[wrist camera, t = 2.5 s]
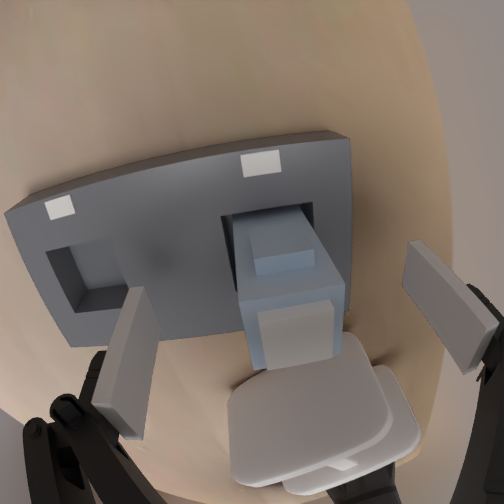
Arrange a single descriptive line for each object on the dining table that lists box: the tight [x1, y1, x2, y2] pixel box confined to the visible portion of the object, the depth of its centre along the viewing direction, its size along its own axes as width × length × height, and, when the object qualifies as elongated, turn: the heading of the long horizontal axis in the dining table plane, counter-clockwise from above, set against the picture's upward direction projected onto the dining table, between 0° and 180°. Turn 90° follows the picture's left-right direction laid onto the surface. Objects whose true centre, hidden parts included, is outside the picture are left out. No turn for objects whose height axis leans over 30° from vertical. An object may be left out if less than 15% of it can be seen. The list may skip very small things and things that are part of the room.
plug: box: [232, 204, 345, 370], centre depth 16 cm, size 5×4×11 cm
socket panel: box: [4, 131, 352, 347], centre depth 20 cm, size 12×22×4 cm, turn 98°
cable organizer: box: [227, 331, 422, 496], centre depth 25 cm, size 15×11×12 cm
